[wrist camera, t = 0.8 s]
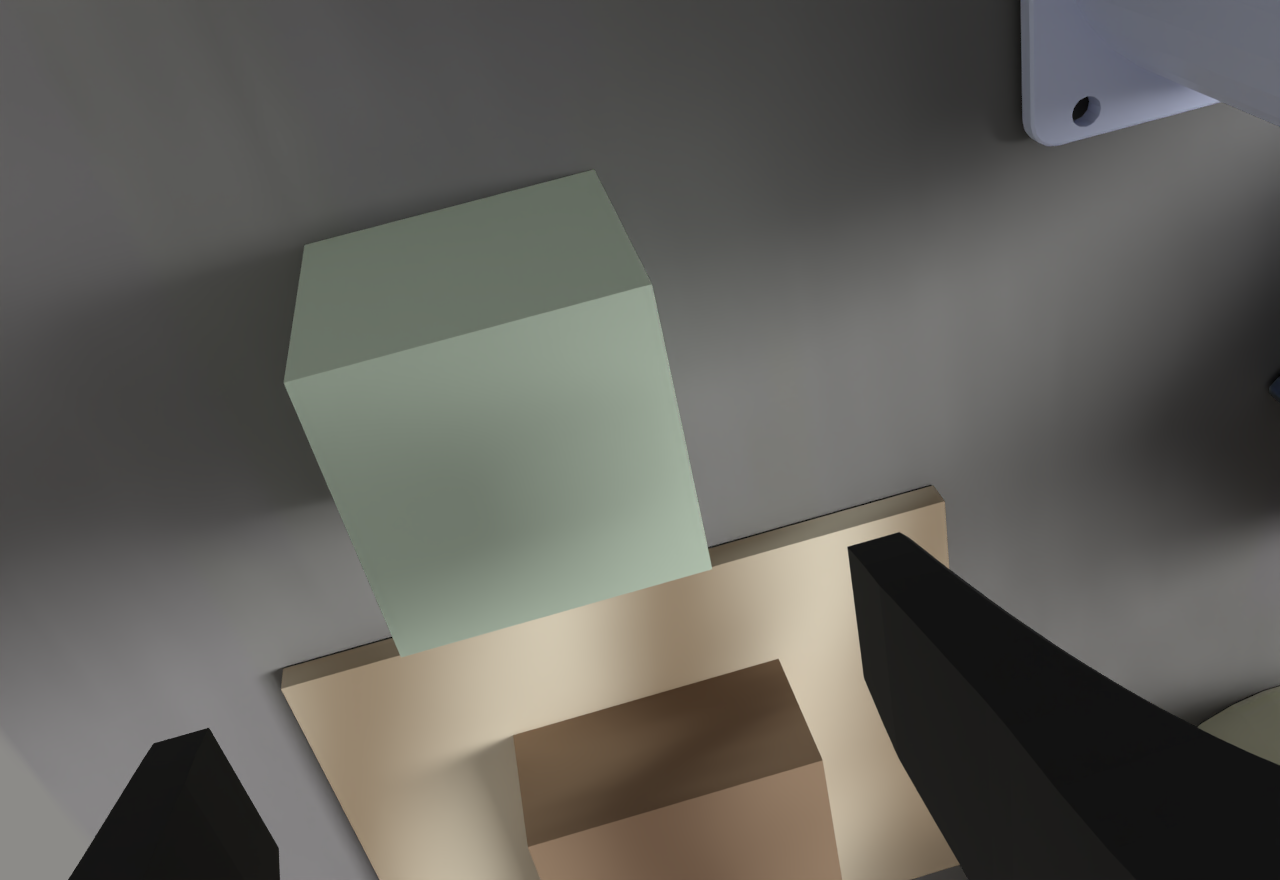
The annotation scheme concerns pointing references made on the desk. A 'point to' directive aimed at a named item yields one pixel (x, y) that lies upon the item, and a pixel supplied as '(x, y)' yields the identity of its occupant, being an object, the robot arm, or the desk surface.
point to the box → (1275, 389)
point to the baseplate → (602, 655)
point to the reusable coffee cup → (1251, 725)
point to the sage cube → (495, 411)
